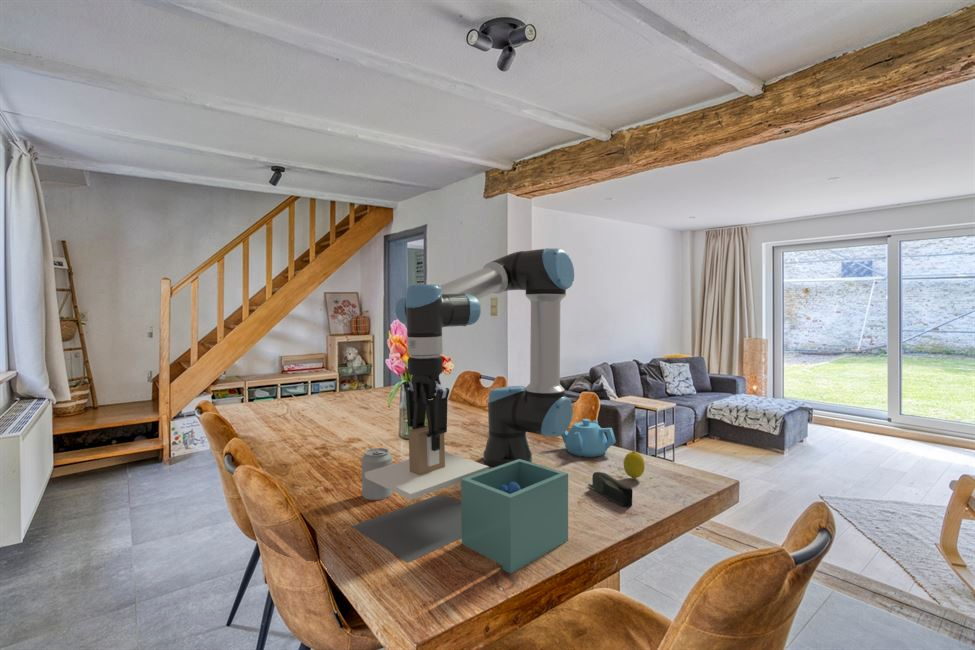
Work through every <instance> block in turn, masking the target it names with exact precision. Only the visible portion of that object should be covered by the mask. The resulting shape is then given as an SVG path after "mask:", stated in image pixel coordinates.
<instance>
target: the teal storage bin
mask: <svg viewBox="0 0 975 650" xmlns="http://www.w3.org/2000/svg"><path fill="white" fill-rule="evenodd" d="M510 482H516V483H517V484H518V485H519V486H520V488H521V490H519V491H516V492H514V493H511V494H509V493H506V492H503V491H501V490H499V489H500V487H501V486H502V485H506V486H508V485H509V483H510ZM460 489H461V491H460V495H461V497H460V498H461V518H462V538H461V545H463V546H464V547H466V548H469V549H471V550H473V551H475V553H478V554H480V555H481V556H484V557H486V558H488V559H490V560H491V561H494V563H497V564H499V565H500V566H498V568H499V569H500V570H503V571H504V572H507V573H508V574H510V575H512V574H513V573H515V572H516V571H518V570H520V569H522V568H524V567H525V566H527V565H529V564H530V563H532V562H534V561H536V560H537V559H538V558H541V557H543V556H544V555H546V554H547V553H549V552H551V551H554V549H557V547H559V545H560V546H562V545H563V544H565V543H567V542H568V541H569V473H567V472H565V471H561V470H558V469H555V468H551V467H547V466H544V465H541V464H537V463H535V462H528V461H525V460H521V459H518V460H515V461H512V462H509V463H506V464H503V465H500V466H497V467H491V468H489V469H488V470H486V471H483V472H480V473H477V474H474V475H471V476H468V477H465V478H462V479H461V482H460ZM564 542H565V543H564Z"/></svg>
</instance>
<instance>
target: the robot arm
mask: <svg viewBox="0 0 975 650" xmlns="http://www.w3.org/2000/svg"><path fill="white" fill-rule="evenodd" d="M574 269H575V268H574V264H573V261H572V259H571V258H570V256H569V254H568V253H567V252H566V251H565V249H564V250H563V249H561V248H539V249H531V250H525V251H524V250H522V251H521V250H520V251H515V252H512V253H509V254H506V255H505V256H502V257H500V258H497V259H495V260H492V261H489V262H487V263H485V265H484V266H483V268H481V269H478V270H476V271H474V272H471V273H468V274H465V275H464V276H461V277H459V278H455V279H453V280H451V281H448V282H445V283H443V284H441V285H439V284H411V285H409V286H408V287H407V288H406V295H402V296H401V297H400V298H398V300H397V302H396V304H395V309H394V311H395V315H396V318H397V320H398V321H399V322H400V323H401V324H404V325H406V336H407V339H406V340H407V355H408V356H409V357H408V358H407V374H408V375H410V376H411V379H410V381H409V382H404V383H403V388H404V392H405V402H406V417H407V418H406V419H407V420H406V421H407V422H406V423H407V427H409V428H411V430H413V429H417V428H421V427H426V426H428V428H429V434H426V435H427V466H433V465H436V464H439V450H440V434H443V433H444V434H446V433H447V431H448V399H449V394H450V388H449V387H443V386H442V382H441V380H440V375H441V374H443V371H444V370H443V365H444V363H443V357H442V356H441V355H442V354H443V350H444V349H443V328H447V327H448V328H449V327H450V328H452V327H467V326H471V325H474V324H475V323H476V322H478V320H479V319H480V316H481V312H482V311H481V308H482V307H481V304H480V301H479V300H480V299H482V298H484V297H486V296H488V295H491V294H498V295H499V294H501V293H503V292H506V291H525V296H526V298H528V300H529V301H530V345H529V346H530V353H529V354H530V357H529V358H530V364H529V365H530V367H529V369H530V370H529V371H530V372H529V384H528V385H526V386H524V385H510V386H501V387H496V388H492V389H491V390H490V391H489V393H488V402H487V406H488V407H487V408H488V409H487V410H488V412H487V413H488V416H487V417H488V437H487V441H486V444H485V450H484V451H483V453H482V454H483V455H482V457H483V458H482V459H483V460H482V461H483V464H484V465H486V466H489V467H491V468H494V467H497V466H500V465H503V464H506V463H509V462H512V461H515V460H518V459H521V460H525V461H528V462H531V463H533V455H532V452H531V450H530V447H529V446H530V445H529V442H528V439H527V433H530V434H536V435H540V436H541V435H542V436H543V437H551V438H553V437H554V438H557V437H558V438H559V437H562V436H561V435H562V434H563V433H564V432H565V431H566V430H567V431H568V428H569V427H570V425H571V422H572V418H573V415H574V414H573V413H574V406H573V403H572V400H571V398H568V396H566V390H565V388H564V387H563V386H562V385H561V382H560V380H561V379H560V378H561V377H560V375H561V374H560V373H561V302H562V300H563V299H564V298H565V297H566V294H567V293H566V291H567V290H568V289H570V288H571V287H572V286H573V283H574V279H575V270H574ZM426 418H427V425H425V423H426Z"/></svg>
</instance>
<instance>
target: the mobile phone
mask: <svg viewBox="0 0 975 650" xmlns="http://www.w3.org/2000/svg"><path fill="white" fill-rule="evenodd" d="M591 482H592V484H591V483H588V484H587V486H588V487H589V488H592V489H593V490H595V491H596V492H598V493H600V494H601V495H603V496H605V497H606V498H608V499H609V500H611V501H612V502H614V503H616V504H617V505H619V506H620V507H625V508H628V507H632V506H633V489H632V488H631V487H630V486H628V485H626V484H624V483H622V482H621V481H619V480H617V479H615V478H614V477H612V476H611V475H610V474H608V473H606V472H601V471H596V472H594V473H592V480H591Z"/></svg>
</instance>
